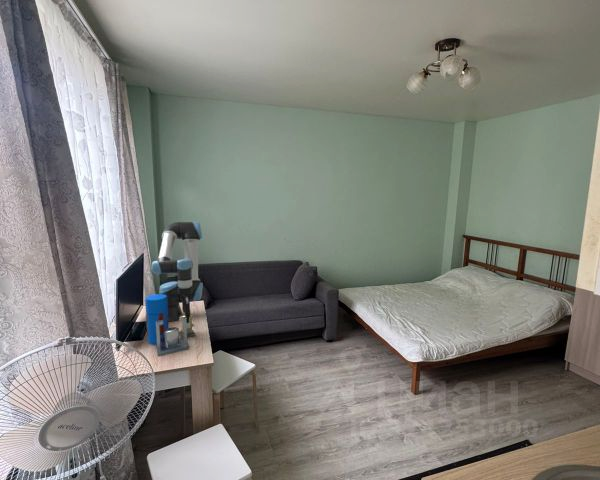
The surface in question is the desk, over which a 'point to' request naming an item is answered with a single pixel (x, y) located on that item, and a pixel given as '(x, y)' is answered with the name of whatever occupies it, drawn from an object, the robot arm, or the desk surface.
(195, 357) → the desk surface
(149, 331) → the thermos
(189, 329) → the brass cap
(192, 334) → the rubber mat
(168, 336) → the grey metal stand
